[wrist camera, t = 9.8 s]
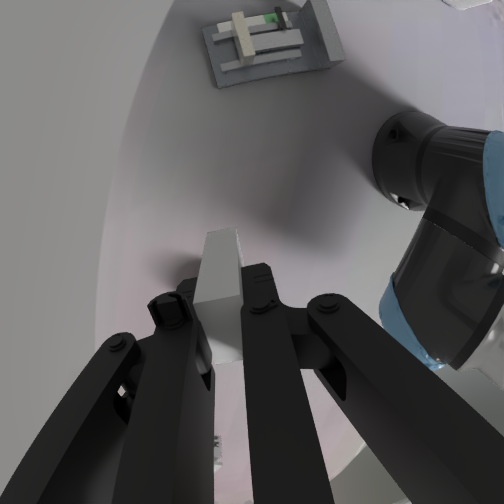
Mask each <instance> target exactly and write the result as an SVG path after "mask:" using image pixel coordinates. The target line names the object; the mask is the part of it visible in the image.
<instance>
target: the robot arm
mask: <svg viewBox="0 0 504 504" xmlns="http://www.w3.org/2000/svg"><path fill="white" fill-rule="evenodd" d="M372 164H373V171H374V175H375V179H376V181H377V184H378V186H379V188H380V189H381V191H382V192H383V194H384V195H385V196H386V197H387V198H388V199H389V200H390V201H392V202H393V203H395V204H397V205H399V206H401V207H403V208H405V209H408V210H412V211H425V213H424V215H423V218H422V219H421V221H420V223H419V225H418V228H417V230H416V232H415V234H414V236H413V238H412V240H411V242H410V244H409V246H408V248H407V250H406V252H405V254H404V256H403V258H402V260H401V262H400V264H399V265H398V267H397V269H396V271H395V272H393V273H392V275H391V277H390V282H389V284H388V286H387V288H386V290H385V292H384V294H383V296H382V298H381V300H380V304H379V315H380V319H381V323H382V326H383V328H384V329H383V328H382V327H381V326H380V325H378V324H377V323H376V322H375V321H374V320H373V319H371V318H370V317H369V316H368V315H367V314H365V313H364V312H363V311H362V310H361V309H360V308H358V307H357V306H356V305H355V304H354V303H352V302H351V301H350V300H349V299H348V298H346V297H344V296H343V295H340V294H335V293H329V294H322V295H319V296H316V297H315V298H313V299H311V300H310V302H309V303H308V304H307V308H293V307H289V306H286V305H284V304H283V303H282V302H281V301H280V299H279V296H278V293H277V289H276V285H275V282H274V278H273V275H272V271H271V268H270V266H268V265H267V264H265V263H260V264H255V265H250V266H245V264H244V260H243V256H242V251H241V247H240V243H239V238H238V234H237V229H236V227H233V228H228V229H223V230H219V231H214V232H210V233H207V237H206V241H205V246H204V250H203V255H202V260H201V265H200V270H199V275H198V277H196V278H191V279H186V280H183V281H182V282H181V283H180V284H179V285H178V287H177V289H176V291H173V292H167V293H164V294H161V295H159V296H157V297H155V298H154V299H153V300H151V301H150V303H149V304H148V305H147V307H148V309H149V311H150V314H151V316H152V318H153V320H154V323H155V325H156V328H155V331H154V334H153V335H151V336H149V337H146V338H143V339H141V340H138V341H136V339H135V337H134V336H133V335H132V334H131V333H128V332H123V333H117V334H114V335H112V336H111V337H110V338H108V339H107V340H106V341H105V342H104V343H103V344H102V345H101V347H100V348H99V349H98V351H97V352H96V353H95V355H94V356H93V357H92V359H91V360H90V361H89V363H88V364H87V366H86V367H85V368H84V369H83V371H82V372H81V373H80V375H79V376H78V377H77V379H76V380H75V382H74V383H73V384H72V386H71V387H70V389H69V390H68V391H67V393H66V394H65V396H64V397H63V398H62V400H61V401H60V403H59V404H58V406H57V407H56V409H55V410H54V411H53V413H52V414H51V416H50V417H49V419H48V420H47V422H46V423H45V425H44V426H43V428H42V429H41V431H40V432H39V434H38V435H37V437H36V438H35V440H34V442H33V443H32V445H31V446H30V448H29V450H28V451H27V452H26V454H25V456H24V457H23V459H22V461H21V462H20V464H19V465H18V467H17V469H16V471H15V472H14V474H13V475H12V478H11V479H10V481H9V482H8V484H7V486H6V488H5V489H4V491H3V493H2V495H1V497H0V504H214V407H215V372H214V369H213V366H212V364H211V362H212V356H213V359H214V361H215V364H222V363H228V362H234V361H240V360H243V365H244V381H245V395H246V410H247V424H248V438H249V451H250V464H251V476H252V488H253V500H254V504H335V503H334V499H333V495H332V490H331V486H330V482H329V478H328V474H327V470H326V467H325V463H324V459H323V455H322V451H321V447H320V443H319V439H318V435H317V431H316V428H315V424H314V420H313V416H312V412H311V408H310V405H309V401H308V397H307V393H306V390H305V386H304V382H303V378H302V375H301V371H300V369H313V370H314V372H315V374H316V375H317V377H318V378H319V380H320V381H321V382H322V384H323V385H324V387H325V388H326V389H327V391H328V392H329V393H330V395H331V396H332V398H333V399H334V400H335V402H336V403H337V404H338V406H339V407H340V408H341V410H342V411H343V413H344V414H345V415H346V417H347V418H348V419H349V421H350V422H351V423H352V425H353V426H354V427H355V429H356V430H357V431H358V433H359V434H360V436H361V437H362V438H363V440H364V441H365V442H366V444H367V445H368V446H369V448H370V449H371V450H372V452H373V453H374V454H375V456H376V457H377V458H378V460H379V461H380V462H381V463H382V465H383V466H384V467H385V469H386V470H387V471H388V473H389V474H390V475H391V477H392V478H393V479H394V480H395V482H396V483H397V484H398V486H399V487H400V488H401V490H402V491H403V492H404V494H405V495H406V496H407V497H408V499H409V500H410V501H411V503H412V504H504V437H503V436H502V435H501V434H500V433H499V432H498V431H497V430H496V429H495V428H494V427H493V426H492V425H491V424H489V422H487V421H486V420H485V419H484V418H483V417H482V416H481V415H480V414H479V413H478V412H477V411H475V410H474V409H473V408H472V407H471V406H470V405H469V404H468V403H467V402H466V401H465V400H464V399H462V398H461V397H460V396H459V395H458V394H457V393H456V392H455V391H454V390H453V389H451V388H450V387H449V386H448V385H447V384H446V383H445V382H443V380H441V379H440V378H439V377H438V376H437V375H436V374H435V373H433V372H432V371H434V370H438V369H440V368H441V367H444V366H445V364H446V363H447V364H448V365H450V366H451V367H452V368H453V369H455V370H456V371H458V372H461V371H465V370H470V369H477V370H478V371H479V372H480V373H482V374H483V375H484V376H485V377H487V378H488V379H489V380H490V381H491V382H492V383H494V384H495V385H496V386H497V387H499V388H500V389H501V390H502V391H503V392H504V275H503V274H502V271H503V268H504V133H503V132H501V131H497V130H495V131H488V130H481V129H473V128H464V127H454V126H447V125H446V124H444V123H443V122H441V121H439V120H437V119H436V118H434V117H432V116H430V115H428V114H425V113H421V112H403V113H400V114H397V115H395V116H393V117H392V118H390V119H389V120H388V121H387V122H386V123H385V124H384V125H383V126H382V128H381V129H380V131H379V133H378V135H377V137H376V140H375V143H374V147H373V154H372ZM431 222H432V223H431ZM436 225H437V226H436ZM438 226H439V227H438ZM443 229H444V230H443ZM448 232H449V233H448ZM453 235H454V236H453ZM456 237H457V238H456ZM461 240H462V241H461ZM464 242H465V243H464ZM472 247H473V248H472ZM475 249H476V250H475ZM121 385H122V387H123V388H124V390H125V391H126V392H125V393H124V395H123V396H122V397H121V396H120V395H119V393H118V392H117V391H118V390H119V388H120V386H121Z"/></svg>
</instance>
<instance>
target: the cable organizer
mask: <svg viewBox="0 0 504 504" xmlns="http://www.w3.org/2000/svg"><path fill="white" fill-rule="evenodd" d="M443 1H444V2H445V3H447V4H449V5H450V6H452V7H453V8H455V9H458V10H464V9H468V8H471V7H474V6H478V5H481V4H485V3H489V2H492V1H493V0H443Z"/></svg>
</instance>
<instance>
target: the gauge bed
mask: <svg viewBox="0 0 504 504" xmlns="http://www.w3.org/2000/svg"><path fill="white" fill-rule="evenodd" d="M282 14H283V17H284V20H285V23H286V26H287V30H293V29H300V32H301V35H302V39H303V42H304V44H303V45H302V46H301V47H294V48H286V49H280V50H273V51H267V52H262V53H256V55H255V57H254V60H253V63H252V64H251V65H247V66H242V65H241V61H240V58H239V54H238V51H237V48H236V44H235V41H234V37H233V34H232V31H231V21H227V22H223V23H218V24H216V25H212V26H208V27H204V28H201V29H202V32H203V36H204V39H205V43H206V46H207V50H208V53H209V57H210V61H211V64H212V68H213V71H214V75H215V78H216V82H217V86H218V89H222V88H226V87H229V86H234V85H238V84H242V83H246V82H251V81H256V80H260V79H265V78H271V77H276V76H282V75H287V74H294V73H300V72H307V71H315V70H323V69H330V68H331V67H333V66H335V65H337V64H339V63H341V62H343V61H344V60H346V59H345V55H344V52H343V48H342V45H341V42H340V39H339V35H338V32H337V29H336V26H335V23H334V20H333V18H332V15H331V12H330V9H329V6H328V4H327V1H326V0H307V1H306V3H305V4H304V6H303V7H302V8H301V10H300V11H296V12H282ZM245 21H246V24H247V27H248V30H249V34H250V36H253V35H258V34H264V33H270V32H277V31H281V28H280V25H279V21H278V18H277V15H276V13H273V14H265V15H259V16H253V17H248V18H245Z"/></svg>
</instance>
